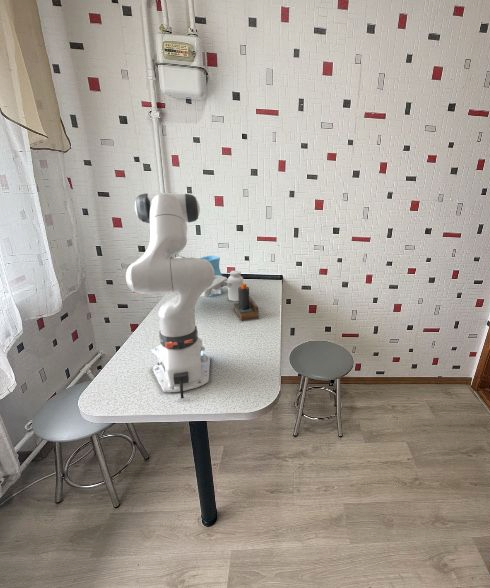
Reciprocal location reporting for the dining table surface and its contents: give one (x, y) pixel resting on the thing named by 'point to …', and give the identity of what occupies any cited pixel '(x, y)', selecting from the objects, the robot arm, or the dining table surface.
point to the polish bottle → (244, 297)
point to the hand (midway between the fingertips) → (226, 288)
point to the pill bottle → (234, 285)
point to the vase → (214, 266)
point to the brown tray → (247, 311)
